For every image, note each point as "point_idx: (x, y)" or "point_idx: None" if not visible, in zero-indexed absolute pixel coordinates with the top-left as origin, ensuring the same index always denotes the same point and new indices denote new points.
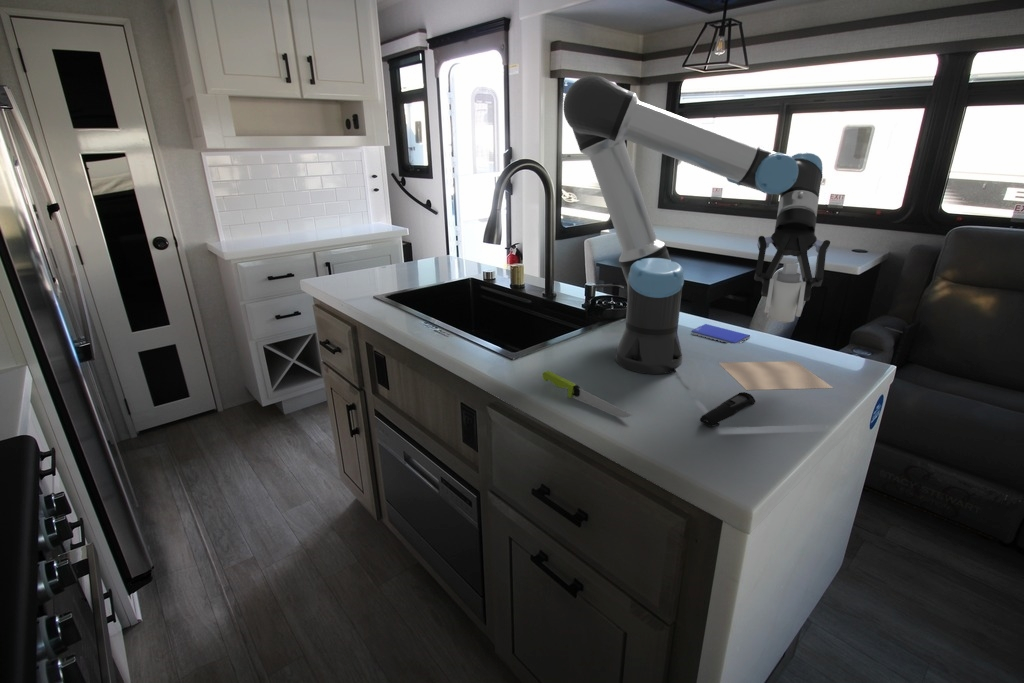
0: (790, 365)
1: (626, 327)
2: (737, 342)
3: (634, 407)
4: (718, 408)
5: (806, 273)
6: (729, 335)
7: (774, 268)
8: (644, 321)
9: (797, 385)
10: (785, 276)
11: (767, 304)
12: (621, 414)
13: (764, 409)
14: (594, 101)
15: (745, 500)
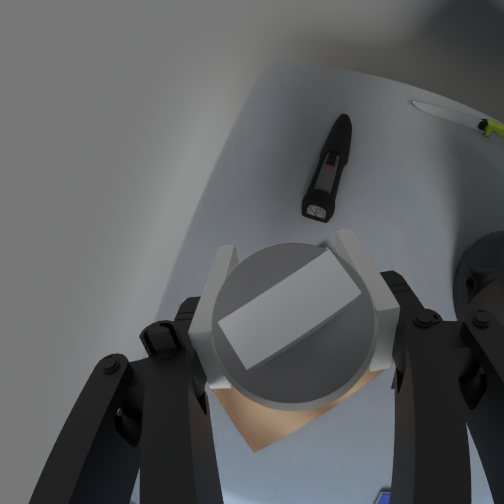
0: (262, 424)
1: None
2: (379, 500)
3: (429, 137)
4: (338, 135)
5: (174, 386)
6: None
7: (415, 378)
8: None
9: None
10: (309, 246)
11: (348, 231)
12: (423, 108)
13: (287, 211)
14: None
15: (271, 62)
